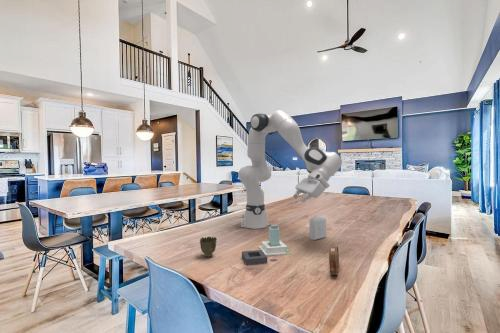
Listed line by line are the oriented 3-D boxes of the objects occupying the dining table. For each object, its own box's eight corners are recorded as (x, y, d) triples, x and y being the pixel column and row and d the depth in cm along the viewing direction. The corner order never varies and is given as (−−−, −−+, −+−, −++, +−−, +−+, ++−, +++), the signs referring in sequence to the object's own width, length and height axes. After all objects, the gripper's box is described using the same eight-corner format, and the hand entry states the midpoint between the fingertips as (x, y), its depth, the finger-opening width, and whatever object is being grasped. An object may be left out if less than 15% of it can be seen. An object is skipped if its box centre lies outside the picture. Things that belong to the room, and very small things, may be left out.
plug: (268, 247, 125) (268, 224, 124) (276, 247, 125) (276, 224, 125) (271, 250, 121) (271, 227, 120) (279, 250, 122) (279, 226, 121)
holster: (242, 257, 115) (241, 251, 115) (261, 255, 117) (261, 249, 117) (246, 265, 106) (246, 259, 106) (267, 263, 108) (267, 257, 108)
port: (258, 247, 127) (258, 241, 127) (281, 245, 130) (281, 239, 130) (265, 256, 116) (265, 249, 116) (290, 253, 119) (290, 247, 118)
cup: (202, 253, 120) (201, 236, 120) (217, 253, 120) (217, 236, 119) (198, 259, 112) (198, 241, 112) (215, 259, 112) (215, 241, 112)
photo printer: (321, 235, 146) (321, 213, 145) (327, 237, 142) (327, 215, 142) (308, 238, 140) (308, 216, 140) (314, 240, 137) (314, 217, 136)
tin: (337, 279, 94) (337, 256, 93) (328, 278, 95) (328, 255, 95) (339, 263, 108) (339, 243, 107) (331, 262, 109) (331, 242, 109)
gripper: (303, 173, 138) (286, 191, 136) (323, 176, 118) (302, 198, 116) (311, 181, 139) (293, 199, 137) (331, 186, 119) (311, 208, 117)
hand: (298, 199), depth 127 cm, fingers open, 8 cm apart
